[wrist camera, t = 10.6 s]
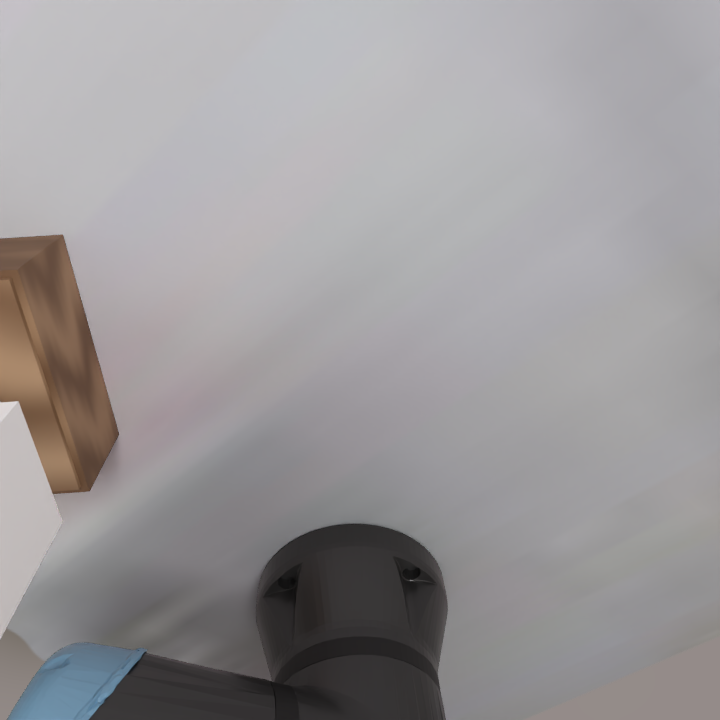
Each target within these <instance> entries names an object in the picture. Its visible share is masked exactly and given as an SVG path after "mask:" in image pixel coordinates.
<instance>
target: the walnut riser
mask: <svg viewBox="0 0 720 720" xmlns="http://www.w3.org/2000/svg"><path fill="white" fill-rule="evenodd" d="M0 401H1V402H14V401H19V404H20V407H21V409H22V412H23V415H24V418H25V420H26V423H27V426H28V428H29V431H30V434H31V437H32V439H33V442H34V445H35V447H36V450H37V453H38V455H39V458H40V461H41V464H42V466H43V469H44V472H45V474H46V477H47V480H48V483H49V485H50V488H51V491H52V493H53V494H58V493H72V492H86V491H90V489H91V487H92V486H93V484H94V482H95V480H96V478H97V476H98V474H99V472H100V470H101V468H102V466H103V464H104V462H105V460H106V458H107V456H108V454H109V452H110V451H111V449H112V447H113V445H114V443H115V441H116V439H117V437H118V435H119V433H118V429H117V426H116V422H115V418H114V415H113V411H112V408H111V404H110V401H109V397H108V394H107V390H106V387H105V383H104V379H103V376H102V372H101V369H100V365H99V362H98V358H97V355H96V351H95V347H94V344H93V340H92V337H91V333H90V330H89V326H88V323H87V319H86V315H85V312H84V308H83V305H82V301H81V298H80V294H79V291H78V287H77V284H76V280H75V276H74V273H73V269H72V266H71V262H70V259H69V255H68V252H67V248H66V244H65V241H64V237H63V235H51V236H35V237H19V238H4V239H0Z"/></svg>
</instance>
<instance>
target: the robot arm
mask: <svg viewBox="0 0 720 720" xmlns="http://www.w3.org/2000/svg"><path fill="white" fill-rule="evenodd" d="M62 523H63V520H62V518H61V515H60V512H59V510H58V507H57V504H56V501H55V499H54V496H53V493H52V491H51V488H50V485H49V483H48V480H47V477H46V474H45V472H44V469H43V466H42V464H41V461H40V458H39V455H38V453H37V450H36V447H35V445H34V442H33V439H32V437H31V434H30V431H29V428H28V426H27V423H26V420H25V418H24V415H23V412H22V409H21V407H20V404H19V401H14V402H0V639H1V637H2V635H3V633H4V631H5V629H6V627H7V626H8V624H9V622H10V620H11V618H12V616H13V614H14V613H15V611H16V609H17V607H18V605H19V603H20V601H21V599H22V598H23V596H24V594H25V592H26V590H27V588H28V586H29V585H30V583H31V581H32V579H33V577H34V575H35V573H36V572H37V570H38V568H39V566H40V564H41V562H42V560H43V558H44V557H45V555H46V553H47V551H48V549H49V547H50V545H51V544H52V542H53V540H54V538H55V536H56V534H57V532H58V531H59V529H60V527H61V525H62ZM447 610H448V608H447V596H446V591H445V586H444V581H443V577H442V573H441V570H440V568H439V566H438V564H437V562H436V560H435V559H434V558H433V556H432V555H431V554H430V553H429V552H428V551H427V550H426V549H425V548H424V547H423V546H422V545H421V544H419V543H418V542H416V541H415V540H413V539H412V538H410V537H408V536H406V535H404V534H402V533H399V532H397V531H394V530H391V529H387V528H383V527H378V526H372V525H361V524H351V525H338V526H332V527H327V528H323V529H319V530H316V531H313V532H310V533H308V534H306V535H303V536H301V537H299V538H297V539H295V540H294V541H292V542H290V543H289V544H288V545H286V546H285V547H284V548H282V549H281V550H280V551H279V552H278V553H277V554H276V555H275V556H274V557H273V558H272V559H271V560H270V562H269V563H268V565H267V566H266V568H265V570H264V571H263V574H262V576H261V579H260V583H259V588H258V597H257V605H256V620H257V626H258V630H259V634H260V638H261V641H262V645H263V649H264V652H265V656H266V660H267V664H268V667H269V671H270V675H271V679H272V681H268V680H265V679H260V678H256V677H251V676H246V675H241V674H236V673H232V672H227V671H222V670H217V669H212V668H208V667H204V666H199V665H195V664H191V663H186V662H182V661H178V660H173V659H169V658H165V657H160V656H156V655H152V654H147V653H146V652H147V649H144V648H138V649H136V650H130V649H124V648H118V647H111V646H105V645H99V644H93V643H74V644H71V645H68V646H66V647H64V648H62V649H60V650H58V651H57V652H55V653H54V654H53V655H52V656H51V657H50V658H49V659H48V660H47V661H46V662H45V663H44V664H43V665H42V667H41V668H40V669H39V671H38V672H37V673H36V674H35V676H34V677H33V679H32V680H31V682H30V683H29V685H28V686H27V688H26V689H25V691H24V692H23V694H22V696H21V697H20V699H19V700H18V702H17V703H16V705H15V707H14V708H13V710H12V712H11V714H10V715H9V717H8V718H7V720H446V718H445V713H444V707H443V702H442V697H441V692H440V686H439V679H438V667H439V661H440V655H441V649H442V643H443V637H444V631H445V625H446V619H447Z"/></svg>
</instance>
